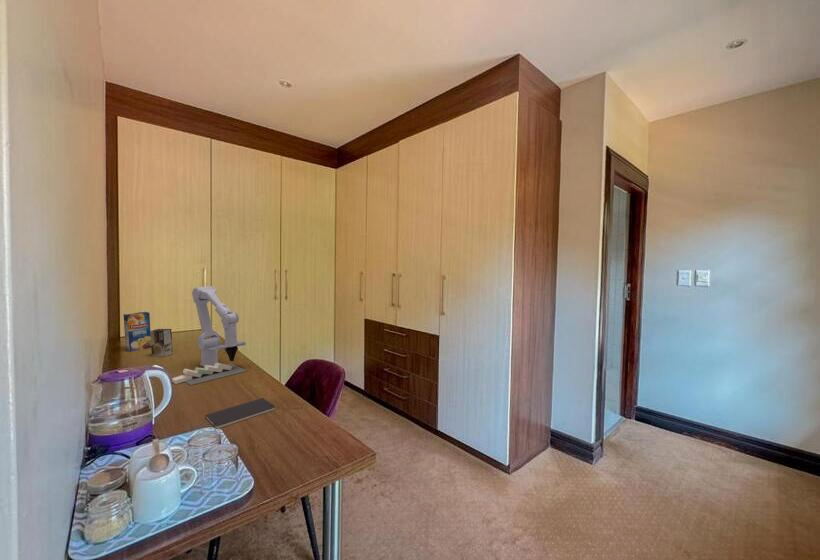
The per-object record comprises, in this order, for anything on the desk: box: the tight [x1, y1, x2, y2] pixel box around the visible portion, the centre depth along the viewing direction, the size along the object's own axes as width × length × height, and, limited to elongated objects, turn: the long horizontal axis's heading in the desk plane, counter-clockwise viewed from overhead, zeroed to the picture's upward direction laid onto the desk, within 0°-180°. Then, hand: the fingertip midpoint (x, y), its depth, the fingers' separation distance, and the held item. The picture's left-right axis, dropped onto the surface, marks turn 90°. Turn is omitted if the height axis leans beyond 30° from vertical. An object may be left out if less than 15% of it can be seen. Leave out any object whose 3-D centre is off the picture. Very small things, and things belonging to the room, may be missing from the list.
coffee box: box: [150, 328, 174, 358], centre depth 209 cm, size 9×6×16 cm
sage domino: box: [193, 367, 213, 375], centre depth 171 cm, size 2×5×7 cm
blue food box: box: [123, 311, 152, 353], centre depth 224 cm, size 12×8×24 cm, turn 145°
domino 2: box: [182, 368, 202, 377], centre depth 167 cm, size 2×5×7 cm
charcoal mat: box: [176, 363, 248, 387], centre depth 174 cm, size 20×26×1 cm
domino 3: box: [203, 365, 223, 372], centre depth 174 cm, size 2×5×7 cm
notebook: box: [205, 397, 276, 429], centre depth 129 cm, size 13×2×21 cm
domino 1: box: [171, 373, 192, 385], centre depth 163 cm, size 2×5×7 cm
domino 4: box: [214, 362, 232, 370], centre depth 177 cm, size 2×5×7 cm
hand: (231, 360), depth 181 cm, fingers closed
